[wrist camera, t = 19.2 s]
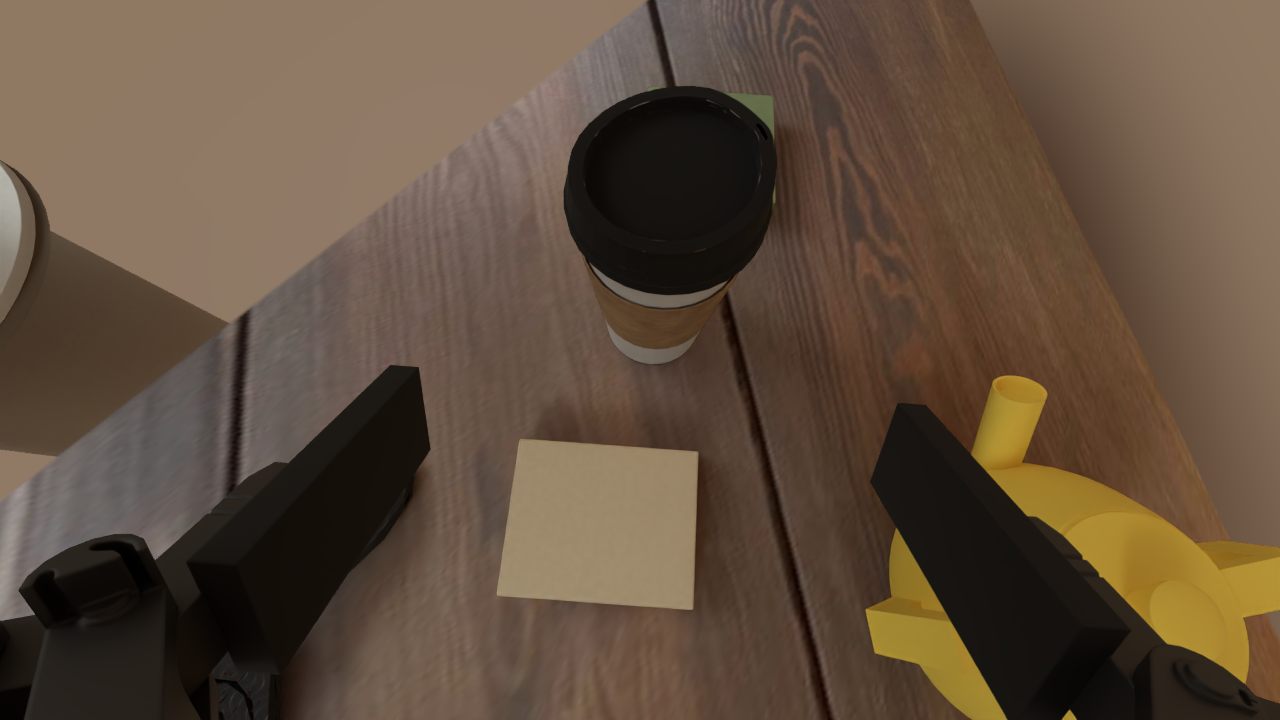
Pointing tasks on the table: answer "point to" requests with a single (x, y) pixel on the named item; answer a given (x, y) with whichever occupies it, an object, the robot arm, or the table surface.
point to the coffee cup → (668, 211)
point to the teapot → (1105, 536)
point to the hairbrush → (256, 696)
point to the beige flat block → (601, 525)
